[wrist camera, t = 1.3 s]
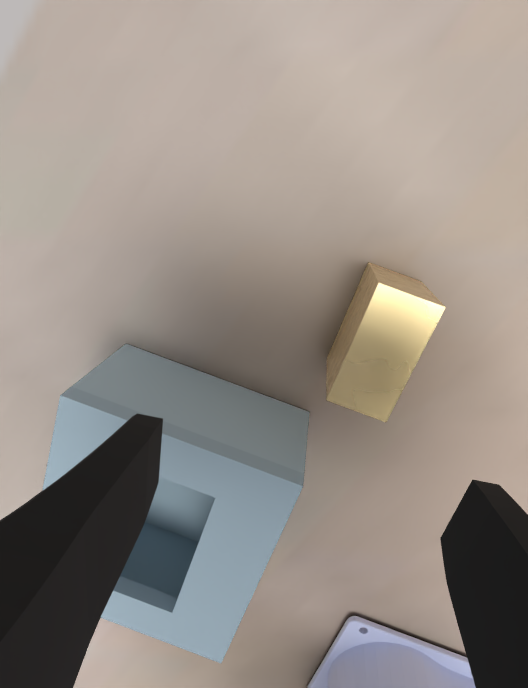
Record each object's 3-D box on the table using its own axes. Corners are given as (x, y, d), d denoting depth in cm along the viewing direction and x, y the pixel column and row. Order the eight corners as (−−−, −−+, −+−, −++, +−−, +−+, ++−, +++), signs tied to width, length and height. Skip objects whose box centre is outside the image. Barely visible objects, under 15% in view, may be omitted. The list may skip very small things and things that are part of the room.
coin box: (309, 411, 23) (303, 486, 17) (243, 562, 27) (221, 663, 21) (126, 343, 23) (60, 395, 17) (87, 504, 27) (24, 588, 21)
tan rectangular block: (420, 281, 20) (445, 307, 16) (374, 376, 22) (385, 422, 18) (368, 261, 20) (378, 282, 16) (326, 358, 22) (326, 400, 18)
